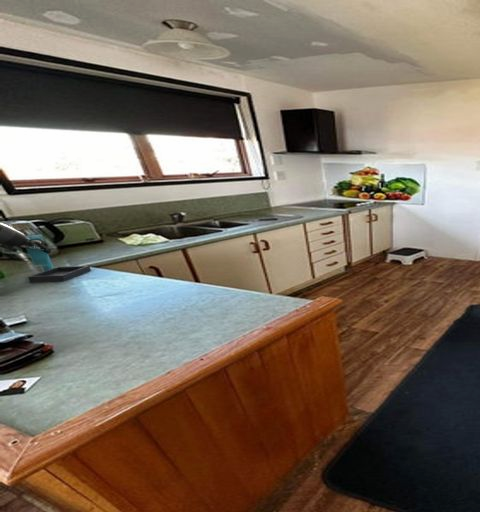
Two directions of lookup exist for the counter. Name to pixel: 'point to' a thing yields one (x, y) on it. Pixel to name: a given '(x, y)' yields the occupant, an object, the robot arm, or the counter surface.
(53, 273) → the tray
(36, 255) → the tube
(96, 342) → the counter surface
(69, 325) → the counter surface
